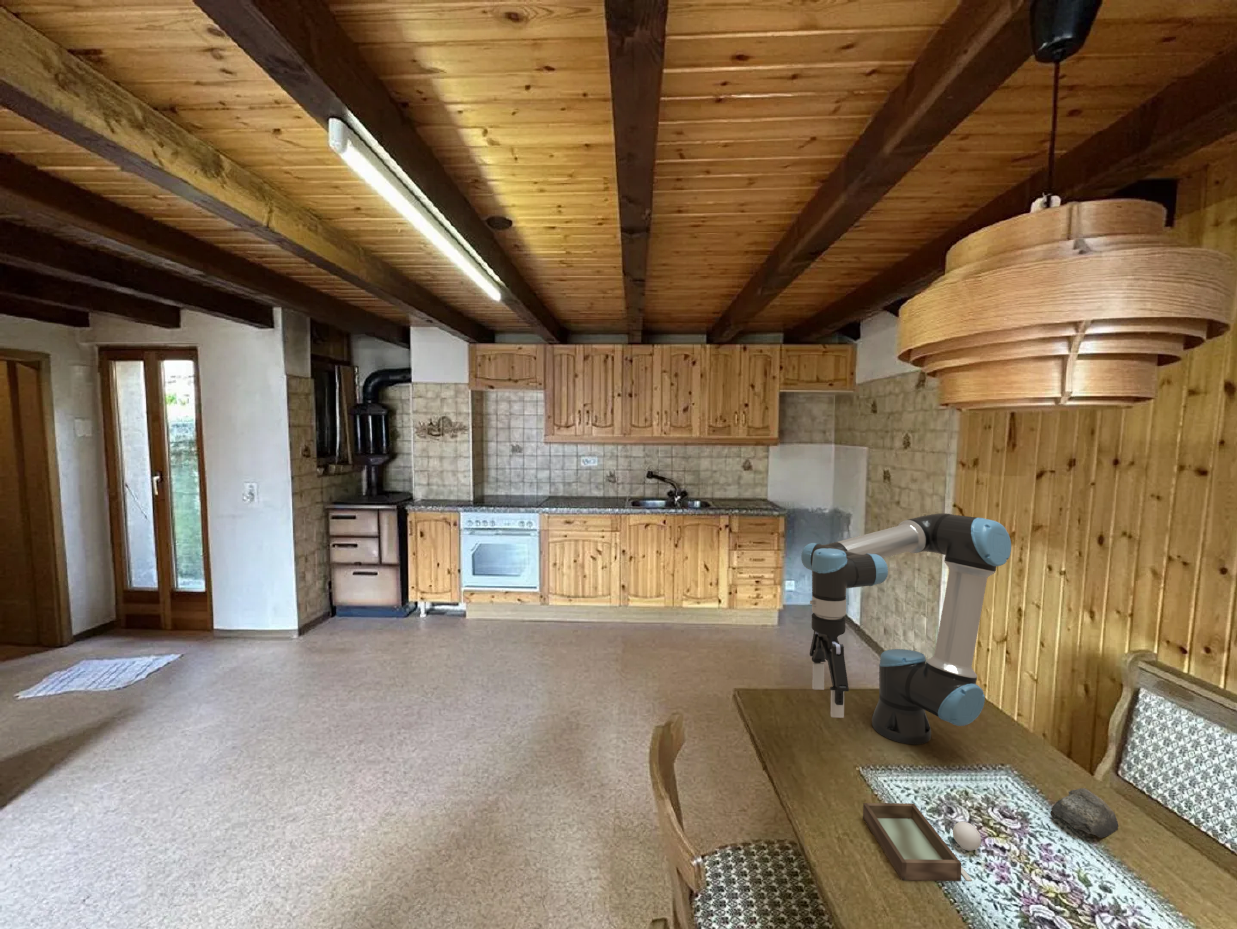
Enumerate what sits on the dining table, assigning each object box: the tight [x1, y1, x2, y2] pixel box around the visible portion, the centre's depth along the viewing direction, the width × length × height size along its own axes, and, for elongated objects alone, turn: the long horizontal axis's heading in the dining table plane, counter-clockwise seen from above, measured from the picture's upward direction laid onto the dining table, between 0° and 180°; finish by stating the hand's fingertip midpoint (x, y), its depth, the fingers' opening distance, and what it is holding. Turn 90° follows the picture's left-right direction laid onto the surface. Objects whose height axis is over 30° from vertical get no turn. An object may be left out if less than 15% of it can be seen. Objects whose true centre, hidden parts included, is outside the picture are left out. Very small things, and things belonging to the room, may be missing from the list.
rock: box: [1049, 787, 1119, 839], centre depth 117 cm, size 13×9×6 cm, turn 114°
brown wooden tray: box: [862, 802, 962, 882], centre depth 110 cm, size 11×17×4 cm, turn 179°
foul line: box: [961, 866, 973, 882], centre depth 110 cm, size 1×17×1 cm, turn 179°
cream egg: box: [952, 821, 982, 852], centre depth 110 cm, size 5×5×5 cm
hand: (827, 702), depth 127 cm, fingers open, 13 cm apart
